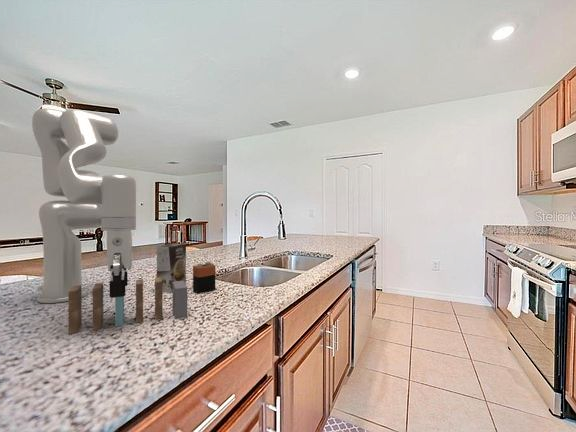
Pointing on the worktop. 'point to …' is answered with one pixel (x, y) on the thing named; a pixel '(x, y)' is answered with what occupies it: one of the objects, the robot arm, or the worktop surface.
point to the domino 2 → (97, 306)
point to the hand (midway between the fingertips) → (119, 291)
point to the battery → (203, 277)
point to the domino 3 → (119, 311)
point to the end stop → (179, 299)
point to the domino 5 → (158, 299)
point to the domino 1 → (75, 309)
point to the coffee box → (171, 264)
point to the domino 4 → (139, 301)
